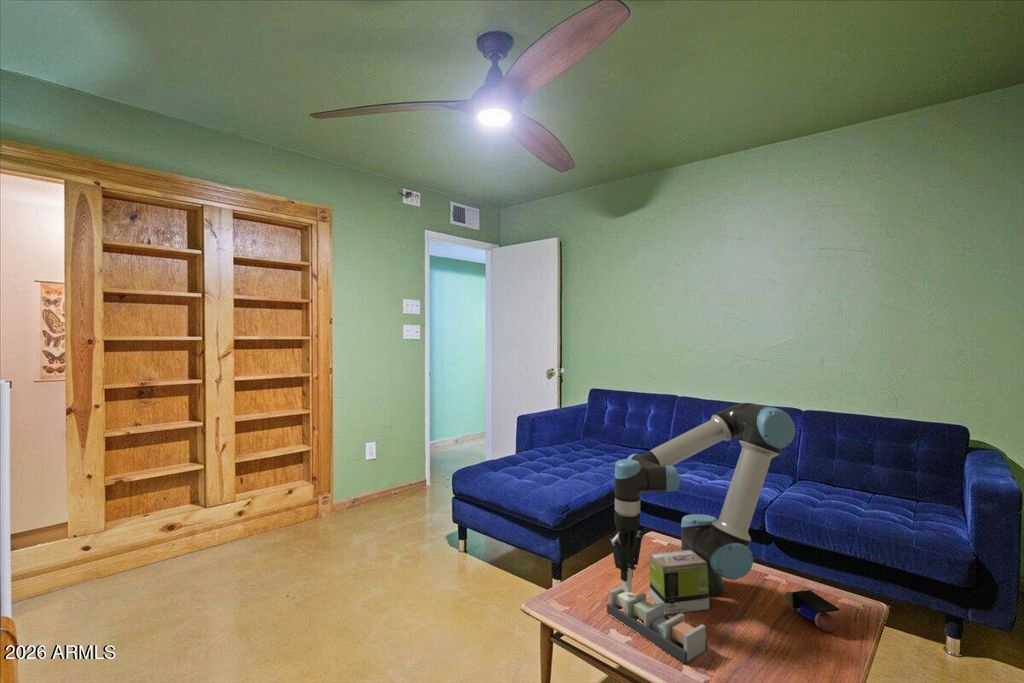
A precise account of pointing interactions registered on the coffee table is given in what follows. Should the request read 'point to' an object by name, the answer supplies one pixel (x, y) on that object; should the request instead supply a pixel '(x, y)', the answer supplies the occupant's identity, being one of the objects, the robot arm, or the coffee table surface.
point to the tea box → (679, 581)
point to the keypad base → (692, 639)
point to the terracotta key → (680, 631)
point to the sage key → (641, 608)
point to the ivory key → (623, 598)
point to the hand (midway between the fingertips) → (626, 590)
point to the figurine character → (813, 608)
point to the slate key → (658, 625)
